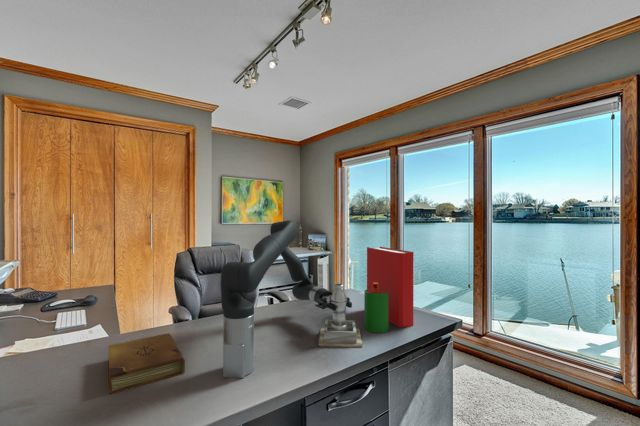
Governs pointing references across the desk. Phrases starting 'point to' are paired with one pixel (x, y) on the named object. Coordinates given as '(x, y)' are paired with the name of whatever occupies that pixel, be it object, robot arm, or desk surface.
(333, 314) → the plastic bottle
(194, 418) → the desk surface
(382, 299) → the motor
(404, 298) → the book
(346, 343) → the mounting cradle
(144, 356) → the diary
